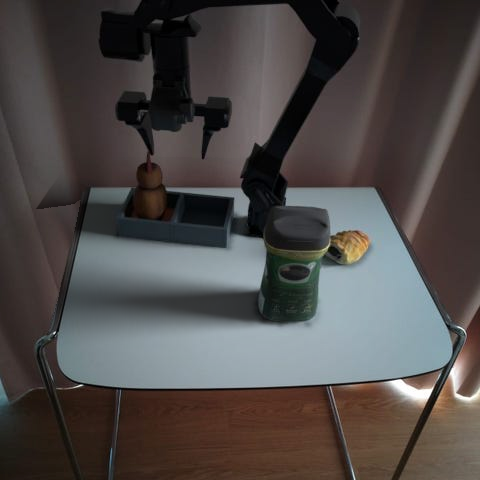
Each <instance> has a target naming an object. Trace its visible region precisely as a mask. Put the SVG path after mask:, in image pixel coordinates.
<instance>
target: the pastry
mask: <svg viewBox="0 0 480 480" xmlns="http://www.w3.org/2000/svg"><path fill="white" fill-rule="evenodd" d="M370 243H371V239H370V237H369V236H368V235H367V234H365V233H364V232H363V231H362V230H356V229H355V230H351V229H349V230H342V231H338V232H336V234H332V235H331V234H330V245H329V248H328V250H327V251H326V253H325V254H324V255H323V256H325V257H327V258H329V259H331V260H333V261H335V262H336V263H337V264H340V265H351V264H352V265H353V264H354V263H356V262H357V261H359V259H361V258H362V257H363V255H364V254H365V253H366V251H367V250H368V249H369V246H370Z"/></svg>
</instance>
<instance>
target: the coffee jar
mask: <svg viewBox="0 0 480 480" xmlns="http://www.w3.org/2000/svg"><path fill="white" fill-rule="evenodd" d="M330 236H331V219H330V214H329V211H328V210H327V209H326V208H321V207H316V206H306V205H305V206H303V205H285V206H275V207H271V208H270V211H269V214H268V217H267V222H266V226H265V228H264V237H263V244H264V247H265V249H266V253H265V261H264V268H263V273H262V277H261V281H260V285H259V287H260V288H259V292H258V303H257V304H258V310H259V313H260V314H261V315H262V316H263V317H264V318H265V319H268V320H270V321H276V322H282V323H283V322H284V323H286V322H287V323H299V322H300V323H303V322H307V321H310V320H311V319H313V318H314V317H315V316H316V314H317V309H318V303H319V289H320V288H319V287H320V274H321V273H320V272H321V267H322V266H321V264H322V260H323V257H324V256H325V255H324V254H325V253H326V251H327V250H328V248H329V245H330Z"/></svg>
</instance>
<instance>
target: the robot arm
mask: <svg viewBox="0 0 480 480" xmlns="http://www.w3.org/2000/svg"><path fill="white" fill-rule="evenodd" d="M270 5H272V6H273V5H289V7H290V8H291V9H292V11H294V12H295V14H296V15H297V17H298V18H299V20H300V21H301V23H302V24H303V25H304V27H305V29H306V30H307V31H308V33H309V34H310V35H311V36H312V37H313V38H314V41H313V45H312V48H311V51H310V54H309V57H308V60H307V63H306V65H305V68H304V69H303V72H302V74H301V75H300V77H299V80H298V82H297V83H296V85H295V87H294V90H293V91H292V92H291V95H290V97H289V99H288V100H287V103H286V104H285V106H284V108H283V110H282V112H281V114H280V116H279V118H278V120H277V122H276V124H275V126H274V127H273V129H272V131H271V134H270V135H269V137H268V139H267V140H266V142H264V143H263V144H262V145H260V144H258V143H257V142H254V143H253V147H252V149H251V153H250V155H249V156H248V157H246V159H245V162H244V164H243V167H242V170H241V173H240V176H239V179H242V180H241V184H240V188H241V189H240V190H242V193H243V195H244V196H246V197H247V198H248V200H249V203H248V208H247V220H246V221H247V222H246V227H247V228H248V233H247V234H248V236H250V237H259V238H260V237H261V238H264V228H265V226H266V222H267V217H268V214H269V211H270V208H271V207H275V206H287V197H286V195H287V194H286V193H287V190H288V185H289V180H288V179H287V178H286V177H285V176H284V174H283V173H281V168H282V165H283V162H284V160H285V158H286V156H287V154H288V152H289V150H290V149H291V147H292V146H293V143H294V141H295V139H297V137H298V134H299V133H300V131H301V129H302V127H303V126H304V124H305V122H306V120H307V119H308V117H309V115H310V114H311V111H312V110H313V108H314V106H315V105H316V103H317V101H318V99H319V97H320V96H321V94H322V93H323V90H324V89H325V87H326V86H327V84H328V83H329V82H330V81H331V80H332V79H333V78H334V77H335V76H337V74H338V73H340V71H342V69H343V67H344V66H345V65H346V64H347V63H348V62H349V60H350V59H351V58H352V57H353V56H354V55H355V53H356V51H357V49H358V48H359V47H358V46H359V44H360V37H361V19H360V14H359V13H358V11H357V10H356V8H355V7H353V6H352V5H350V4H347V3H342V2H341V1H340V0H140V2H139V3H138V6H137V8H136V9H135V10H134V11H133V10H122V9H121V10H119V9H117V8H113V7H105V8H104V9H102V11H100V17H101V21H100V26H99V38H98V46H99V50H100V54H101V55H102V57H103V58H104V59H106V60H115V61H124V62H134V63H135V62H136V63H141V62H144V59H145V58H146V57H147V56H149V55H150V53H151V61H152V72H153V76H152V89H151V94H150V99H147V94H146V93H145V91H134V90H124V91H123V92H122V93H121V95H120V96H119V98H118V99H117V101H116V102H115V105H114V106H115V107H114V112H115V118H116V120H117V121H118V122H124V124H125V125H126V126H129V127H132V128H133V129H135V130H136V132H137V133H138V134H139V136H140V137H141V140H142V141H143V143H144V145H145V147H146V149H147V150H148V149H149V151H150V157H151V156H154V155H155V141H154V136H153V135H154V133H153V131H155V132H160V131H166V132H167V131H168V132H171V133H178V132H180V131H181V130H182V129H183V125H187V123H193V122H194V119H195V117H203V122H204V124H203V126H202V141H201V151H200V154H201V160H205V158H206V154H207V152H208V148H209V144H210V141H211V139H212V138H213V135H214V134H215V132H217V133H218V132H221V131H222V129H226V128H229V127H230V126H229V125H230V122H231V117H232V113H233V104H232V103H233V102H232V101H231V99H230V98H229V97H222V96H208V97H207V99H206V103H195V101H194V99H193V97H192V89H191V87H192V86H191V66H190V46H189V38H197V37H198V35H199V33H200V32H201V31H202V25H201V24H200V23H199V22H197V21H196V20H195V19H194V17H193V16H192V14H193V13H197V12H199V11H201V10H205V9H209V8H228V7H249V6H251V7H252V6H270ZM181 17H184V18H183V19H181ZM156 20H157V21H162V22H154V21H156Z"/></svg>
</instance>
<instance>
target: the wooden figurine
mask: <svg viewBox="0 0 480 480" xmlns="http://www.w3.org/2000/svg"><path fill="white" fill-rule="evenodd" d="M135 173H136V174H135V175H136V177H135V178H136V182H137V185H136V186H135V188H136V189H135V192H134V200H133V205H134V210H135V213H136V215H137V217H138V218H139V219H148V220H158V221H161V220H162V219H163V217H164V213H165V210H166V205H167V193H166V191H167V188H166V186H165V184H163V178H164V177H163V171H162V168H161V166H160V165H159V164H158V163H156V162H152V161H151V155H150V151H149V149H147V152H146V161H145V162H142V163H141V164H139V165H138V166H137V169H136V172H135Z"/></svg>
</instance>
